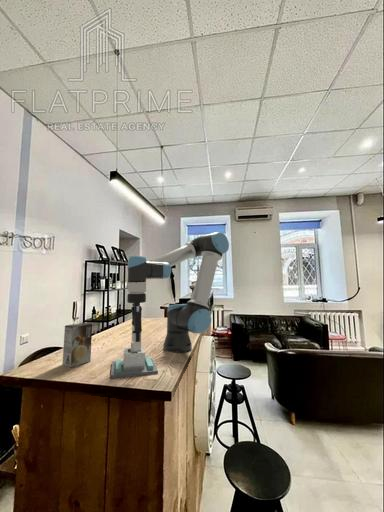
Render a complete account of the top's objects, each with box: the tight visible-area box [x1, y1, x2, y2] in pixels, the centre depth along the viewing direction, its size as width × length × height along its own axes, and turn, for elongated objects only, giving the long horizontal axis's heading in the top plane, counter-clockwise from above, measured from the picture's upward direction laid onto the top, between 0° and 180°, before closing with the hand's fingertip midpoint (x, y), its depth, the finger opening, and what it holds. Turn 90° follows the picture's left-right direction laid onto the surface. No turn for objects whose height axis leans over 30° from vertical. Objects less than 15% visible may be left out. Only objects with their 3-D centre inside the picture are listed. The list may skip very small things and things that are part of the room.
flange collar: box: [122, 346, 146, 370], centre depth 93 cm, size 8×8×6 cm
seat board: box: [110, 341, 159, 379], centre depth 93 cm, size 17×16×10 cm
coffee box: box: [61, 322, 93, 368], centre depth 99 cm, size 9×6×16 cm
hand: (136, 345), depth 94 cm, fingers open, 13 cm apart
